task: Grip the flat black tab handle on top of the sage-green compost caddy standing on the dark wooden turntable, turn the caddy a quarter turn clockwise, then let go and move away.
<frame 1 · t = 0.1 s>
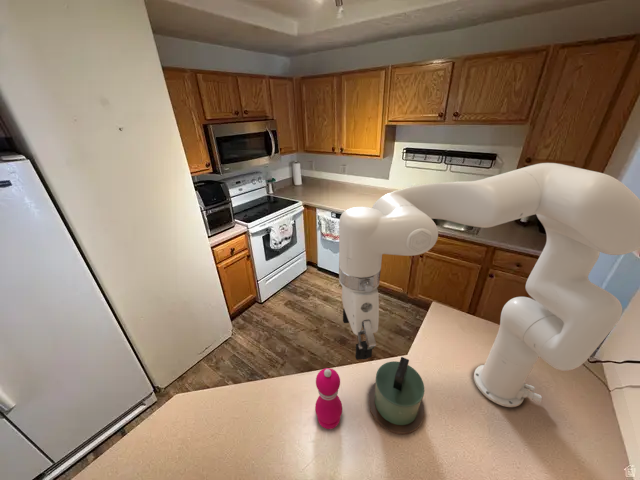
hand: (356, 338, 56), 31 cm above the counter, tool pointing down, fingers open, 9 cm apart
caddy: (398, 385, 69), point 9 cm above the counter, hinge at 0.0°
turntable: (395, 404, 73), on the counter
pepper mill: (328, 417, 71), on the counter
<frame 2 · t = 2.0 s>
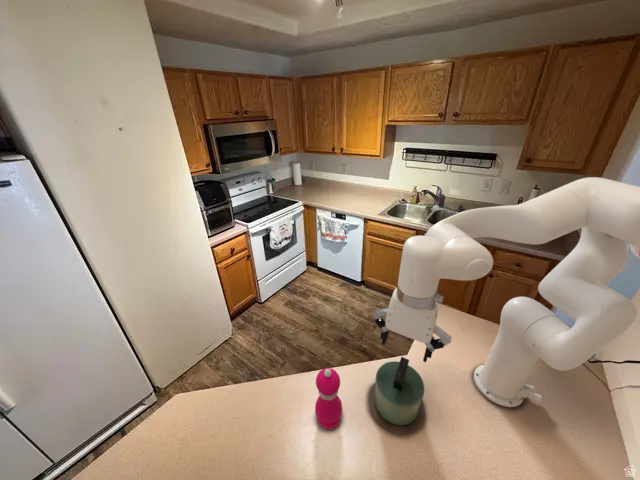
hand: (404, 348, 62), 24 cm above the counter, tool pointing down, fingers open, 9 cm apart
nothing on the counter moved.
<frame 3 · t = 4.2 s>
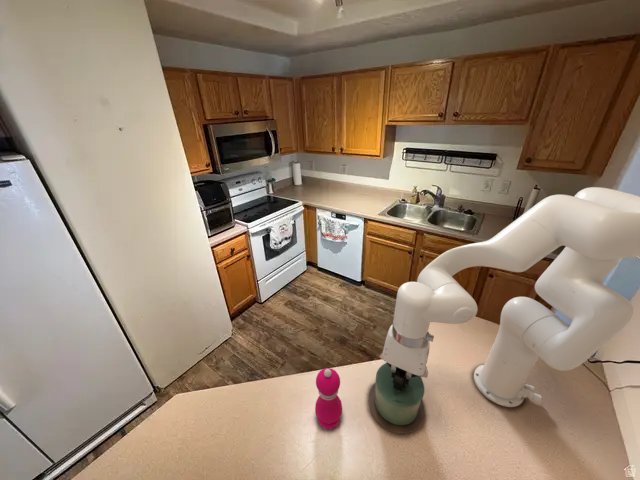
hand: (399, 380, 68), 11 cm above the counter, tool pointing down, fingers closed on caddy
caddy: (398, 385, 69), point 9 cm above the counter, hinge at 0.0°, touching gripper
everything else where it was.
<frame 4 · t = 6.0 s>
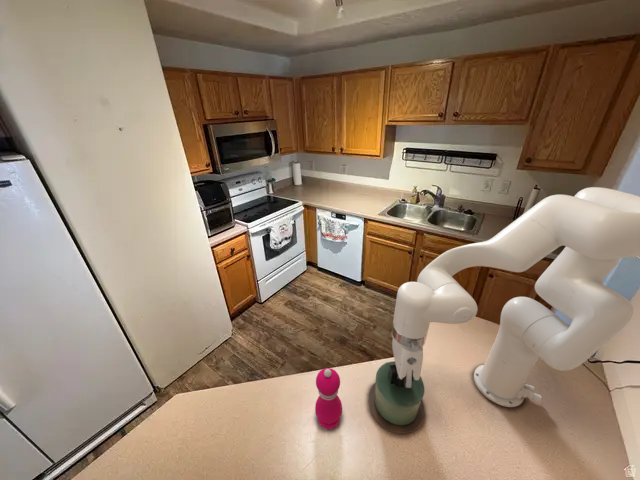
hand: (399, 380, 68), 11 cm above the counter, tool pointing down, fingers closed on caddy
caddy: (398, 385, 69), point 9 cm above the counter, hinge at -53.4°, touching gripper
everything else where it was.
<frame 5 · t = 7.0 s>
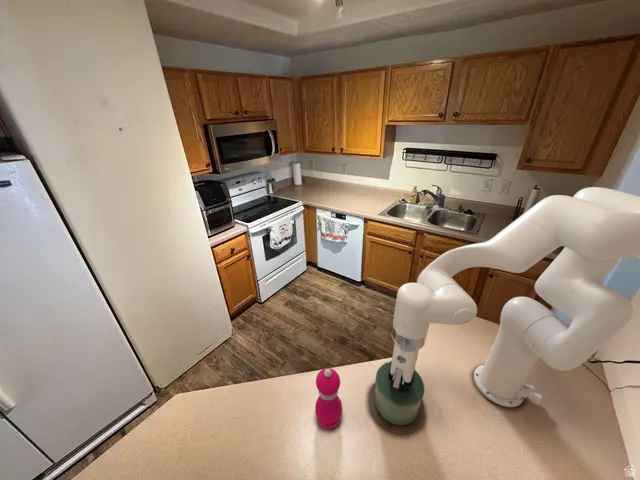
hand: (399, 380, 68), 11 cm above the counter, tool pointing down, fingers open, 3 cm apart
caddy: (398, 385, 69), point 9 cm above the counter, hinge at -79.6°
everything else where it was.
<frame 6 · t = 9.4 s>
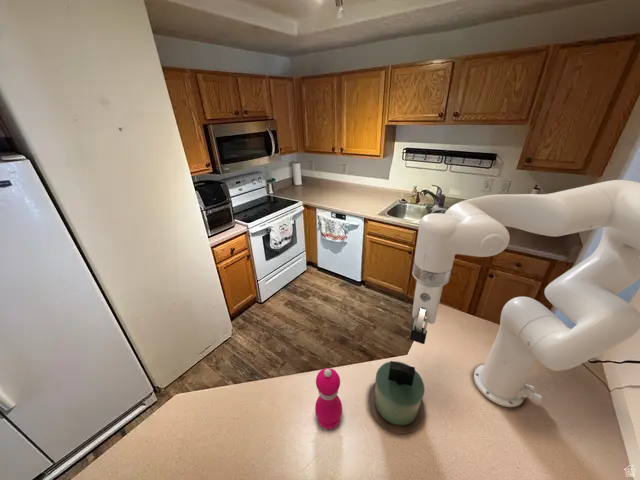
hand: (421, 326, 64), 27 cm above the counter, tool pointing down, fingers open, 9 cm apart
nothing on the counter moved.
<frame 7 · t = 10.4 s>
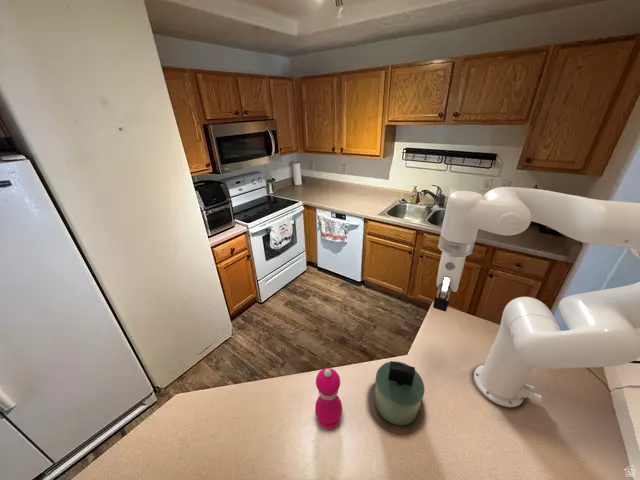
hand: (442, 297, 70), 28 cm above the counter, tool pointing down, fingers open, 9 cm apart
nothing on the counter moved.
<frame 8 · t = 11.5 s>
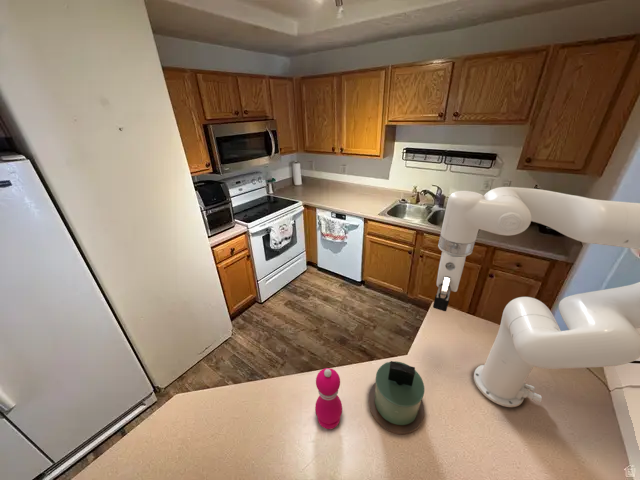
hand: (442, 297, 70), 28 cm above the counter, tool pointing down, fingers open, 9 cm apart
nothing on the counter moved.
at the end: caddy at -80° (first picture: +0°); the gripper is holding nothing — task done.
